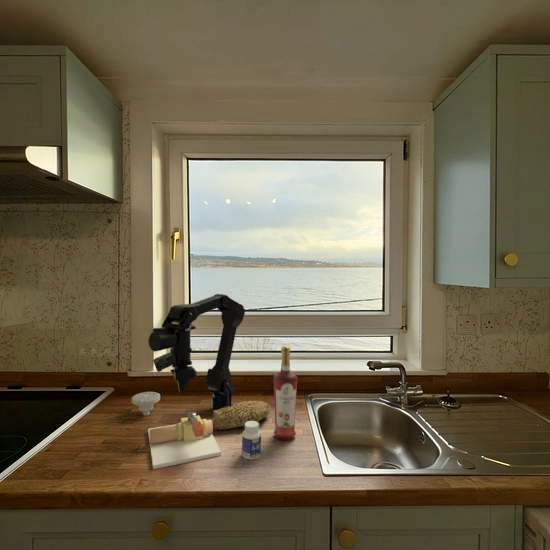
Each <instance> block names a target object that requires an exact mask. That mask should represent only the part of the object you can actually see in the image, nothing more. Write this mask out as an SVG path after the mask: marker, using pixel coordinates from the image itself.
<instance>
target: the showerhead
mask: <svg viewBox="0 0 550 550" xmlns="http://www.w3.org/2000/svg"><path fill="white" fill-rule="evenodd" d="M160 400H161V394H160V393H158V392H155V391H144V392H140V393H139V392H138V393H137V394H134V395H133V396H132V397H131V403H132V404H133V405H135V406H138V410H139V411H140V412H142V415H143V416H149V415H150V411H152V410H153V409H154V404H156V403H158V402H159V401H160Z"/></svg>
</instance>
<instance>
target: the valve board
mask: <svg viewBox="0 0 550 550" xmlns="http://www.w3.org/2000/svg"><path fill="white" fill-rule="evenodd" d="M196 418H197V420H198V421H200V422H201V424H202V426H203V428H204V436H200V437H195V434H194V432H193V430H192V423H191V421H189V420H188V419H187V416H186V417H181V418H180V422H178V423H175V424H169V425H165V426H164V425H163V426H158V427H150V428H148V429H147V433H148V434H147V435H148V440H149V441H148V442H149V447H150V455H151V462H152V463H151V464H152V470H156V469H161V468H166V467H170V466H171V467H172V466H177V465H180V464H181V465H182V464H186V463H190V462H195V461H200V460H205V459H209V458H213V457H214V458H215V457H220V456H222V451H221V449H220V447H219V445H218V443H217V441H216V439H215V437H214V435H213V432H214V425H213V419H206V418H201V416H200V415H199V414H198V415H196Z"/></svg>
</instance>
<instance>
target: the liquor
mask: <svg viewBox="0 0 550 550" xmlns="http://www.w3.org/2000/svg"><path fill="white" fill-rule="evenodd" d="M280 350H281V365H280V366H281V367H280V371H279V372H276V373H275V374H274V375H273V395H274V396H273V398H274V422H275V423H274V424H275V426H274V431H273V434H274V436H276V437H277V438H278V439H279V440H281V441H290V440H291V439H292V438H294V437H295V436H296V435H297V432H296V430H295V427H296V425H295V423H296V422H295V421H296V404H297V403H296V401H297V389H298V388H297V387H298V376H297V375H296V373H294V372H292V371H291V363H290V355H291V347H290V346H287V345H285V346H281V348H280Z"/></svg>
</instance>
